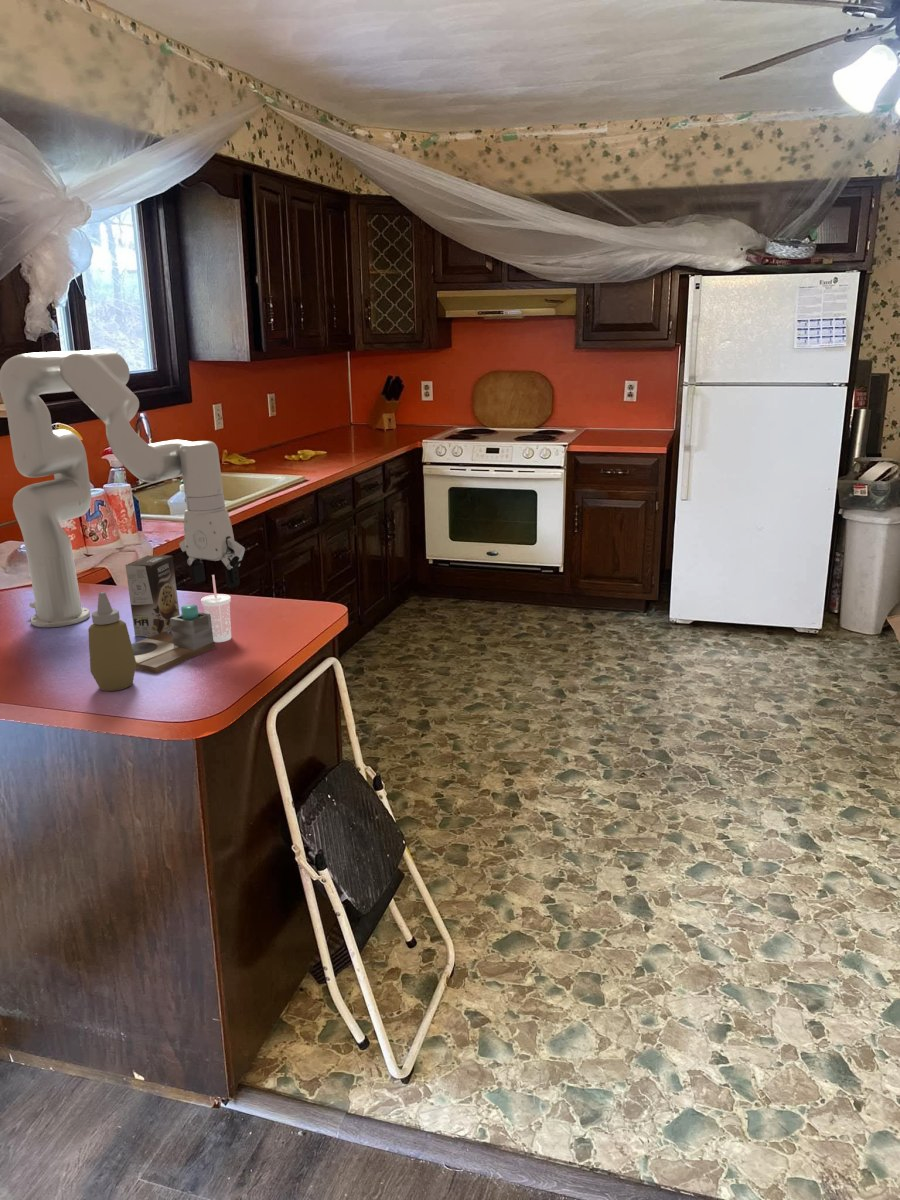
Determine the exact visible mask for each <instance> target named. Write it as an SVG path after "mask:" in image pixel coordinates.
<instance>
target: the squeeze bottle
mask: <svg viewBox="0 0 900 1200" xmlns="http://www.w3.org/2000/svg"><path fill="white" fill-rule="evenodd" d="M97 597H98V599H97V600H98V601H97V610H96V611H94V612H92V613H91V620H92V624H91V625H90V626H89V627H88V631H87V632H88V648H89V649H88V650H89V667H90V668H89V669H90V673H91V675H92V677H93V678H94V680H95V682H96V684H97V686H98V687H99V689H100V690H102V691H106V692H111V691H112V692H113V691H119V690H123V689H126V688H129V687H131V686H132V685H133V683H134V677H135V674H136V673H135V672H136V670H137V669H136V660H135V656H134V652H133V648H132V645H131V644H132V642H131V637H130V633H129V630H128V626H127V623H126V622H125V621H124V620H121V619H120V611H119V609H116V608H112V606H111V605H112V604H111V602H110V600H109V598H108V596H107V593H106V592H104V591H102V592H99V593H98V596H97Z"/></svg>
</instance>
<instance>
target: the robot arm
mask: <svg viewBox="0 0 900 1200" xmlns="http://www.w3.org/2000/svg"><path fill="white" fill-rule="evenodd" d="M129 380H130V368H129V365H128V363H127V362H126V359H124V357H122V355H121V354H119V353H118V352H116V351H114V350H111V349H89V350H87V349H86V350H67V351H66V350H64V351H62V350H59V351H47V352H46V351H39V352H28V353H21V354H17V355H14V356H12V357H10V358H8V359H6V360H5V362H4V363H3V364H2V365H1V368H0V396H1V399H2V402H3V405H4V408H5V412H6V415H7V422H8V431H9V437H10V444H11V448H12V449H11V451H12V457H13V462H14V465H15V468H16V469H17V471H18V472H19V474H20V475H21V476H23V477H26V478H41V477H42V478H43V477H47V476H52V475H53V476H54V479H51V480H45V481H41V482H36V483H32V484H27V485H25V486H24V487H22V488H20V489H19V490H18V491H17V492H16V494H15V495H14V496H13V499H12V509H13V514H14V515H15V519H16V521H17V523H18V525H19V528H20V531H21V535H22V538H23V542H24V547H25V554H26V558H27V563H28V570H29V575H30V581H31V585H32V586H31V587H32V592H33V593H32V594H33V597H34V598H33V599H34V600H33V601H31V602H30V603H29V608H32V609H34V612H35V614H33V615H32V616H31V617H30V623H31V625H32V626H34V627H38V628H58V627H60V628H61V627H65V626H66V627H67V626H69V625H70V626H71V625H74V624H78V623H80V622H83V621H85V620H87V619H88V618H89V617H90V616H91V614H90V613H91V612H90V610H89V608H87V607H84V606H83V607H82V601H81V595H80V589H79V584H78V583H79V581H78V575H77V571H76V565H75V558H74V552H73V546H72V542H71V538H70V537H69V535H68V534H67V533H66V531H65V530H64V529H63V527H62V526H61V524H60V523H64V522H65V521H69V520H70V521H71V520H73V519H78V518H80V517H83V516H84V515H86V514H87V513H88V512H89V510H90V509H91V504H92V491H91V490H92V489H91V481H90V474H89V464H88V459H87V458H88V457H87V452H86V449H85V446H84V444H83V442H82V440H81V439H80V437H79V436H78V435H77V434H76V433H74V432H72V431H70V430H68V429H61V428H59V429H53V425H52V417H51V412H50V410H49V408H48V406H47V405H46V403H45V402H44V400H43V399H42V398H41V397H40V395H46V394H56V393H57V394H59V393H68V392H74V394H75V395H77V397H78V398H79V399H80V400H81V401H82V402H83V403H84V404H85V405H86V406H88V408H89V409H90V410H91V411H92V412H93V413H94V414H95V415H96V416H97V418H99V419H100V420H101V421H102V422H103V424H105V434H106V438H107V439H106V440H107V441H108V445H109V448H110V450H111V451H112V454H113V455H114V457H115V458H116V459H117V460H118V461H119V463H120V464H122V466H123V467H124V468H126V469H127V470H128V471H129V472H130V473H131V474H132V475H133V476H134V477H136V478H137V479H139V480H140V481H141V482H145V483H152V484H153V483H158V482H159V483H160V482H162V481H166V480H170V479H175V478H179V477H182V482H183V483H182V484H183V489H184V490H183V491H184V496H185V497H184V503H186V510H184V515H183V517H184V518H183V535H184V539H183V540H181V541H180V542H179V543H178V545H179V548H180V549H181V551H182V552H183V553H182V554H183V557H184V558H185V559H186V562H187V565H188V566H189V567H190V574H191V581H192V584H193V585H197V584H199V583H202V582H204V581H206V573H205V572H206V571H205V566H204V565H205V564H204V562H203V561H202V560H204V561H205V560H206V561H214V562H216V561H221V562H222V564H223V565H224V566H225V567H226V568H225V569H224V574H225V581H226V588H228V589H231V588H235V587H237V586H239V585H240V584H241V582H240V581H241V580H240V572H239V567H240V566H241V563H242V561H243V559H244V554H245V551H246V549H245V547H244V546H243V545H242V544H240V543H239V542H238V541H236V540H235V537H234V536H235V535H234V532H233V531H234V530H233V527H232V521H231V518H230V515H229V512H228V509H227V508H226V504H225V503H226V502H225V496H224V495H225V494H224V487H223V479H222V470H221V463H220V455H219V448H218V446H217V444H216V443H215V442H214V441H211V440H197V441H190V440H184V439H170V440H163V441H158V442H153V443H147V442H146V441H145V440H144V439H143V438H142V437H141V436H140V435H139V434H138V433H137V432H136V431H135V430H134V429H133V427H132V425H131V424H130V422H131V421H132V419H134V417H135V416H136V415H137V413H138V411H139V409H140V401H139V398H138V397H137V395H136V394H135V393H134V392H132V390H131V389H130V388H129V387H128V386H127V384H128V382H129Z"/></svg>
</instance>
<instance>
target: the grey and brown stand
mask: <svg viewBox="0 0 900 1200" xmlns="http://www.w3.org/2000/svg"><path fill="white" fill-rule="evenodd" d="M198 615H199V617H198V618H196V619H193V620H184V619H182V613H181V614H180V615H178V616H176V617H173V618H170V621H171V629H172V630H171V632H168V633H167V632H162V633H159V634H157V635H154V636H151V637H145V638H144V639H141V640H138V641H137V642H134V643H131V645H132V648H133V652H134V656H135V660H136V669H135V670H141V671H145V672H149V673H153V674H158V673H160V672H162V671H165V670H167V669H169V668H171V667H173V666H176V665H179V664H180V663H181V664H182V662H185V661H187V660H189V659H192V658H194V657H196V656H197V657H198V656H199V655H201V654H203V653H206V652H208V651H210V650H213V649H215V648H216V647H217V646H216V642H214V640H213V632H212V623H211V615H210V614H206V613H204V612H200V611H198Z"/></svg>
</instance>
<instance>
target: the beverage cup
mask: <svg viewBox="0 0 900 1200" xmlns="http://www.w3.org/2000/svg"><path fill="white" fill-rule="evenodd" d="M211 577H212V586H213V587H212V588H213V594H211V595H206V596H203V597H201V599H200V603H201V605H202V607H203V613H206V614H210V615H211V623H212V632H213V640H214V642H215V643H223V642H228V641H230V640H231V639H232V627H231V626H232V624H231V623H232V622H231V621H232V620H231V605H230V604H231V602H232V601H231V600H232V599H231V598H232V597H231V595H229V594H224V593H220V594H219V593H217V587H216V586H217V585H216V579H215V574H211Z"/></svg>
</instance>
